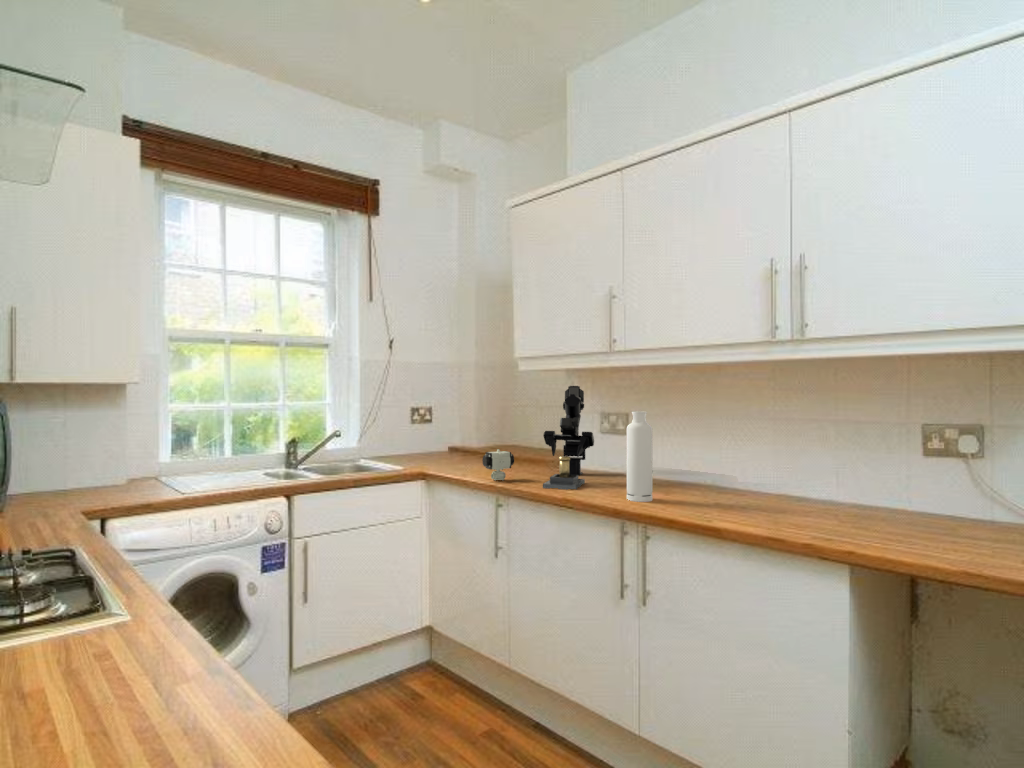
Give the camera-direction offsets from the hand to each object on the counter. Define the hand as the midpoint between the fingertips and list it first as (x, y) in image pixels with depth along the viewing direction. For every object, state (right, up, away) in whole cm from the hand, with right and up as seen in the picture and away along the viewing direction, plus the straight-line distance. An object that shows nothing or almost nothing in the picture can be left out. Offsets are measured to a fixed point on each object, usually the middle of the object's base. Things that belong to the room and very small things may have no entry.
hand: (565, 455), depth 211 cm
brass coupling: (0, -9, -2) cm, 9 cm away
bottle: (+21, -10, -29) cm, 37 cm away
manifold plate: (0, -11, -2) cm, 11 cm away
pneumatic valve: (-25, -11, +11) cm, 29 cm away
